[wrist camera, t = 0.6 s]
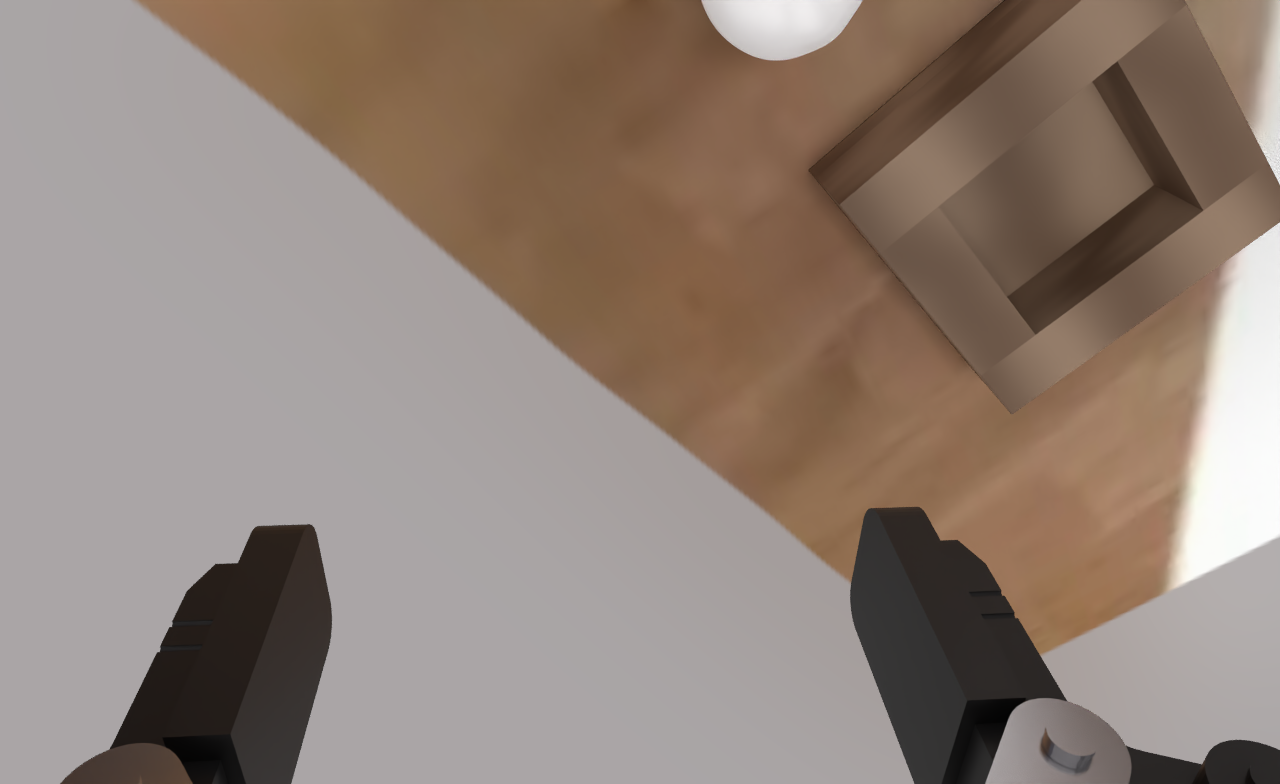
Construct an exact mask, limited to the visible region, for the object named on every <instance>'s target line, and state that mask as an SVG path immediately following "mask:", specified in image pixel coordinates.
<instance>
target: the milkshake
mask: <svg viewBox="0 0 1280 784" xmlns="http://www.w3.org/2000/svg"><path fill="white" fill-rule="evenodd" d="M701 2H702V4H703V7H704V9H705V11H706V13H707V15H708V17H709V19H710V21H711V22H712V24H713V25H714V27H715V28H716V29H717V31H718V32H719V33H720V34H721V35H722V36H723V37H724V38H725V39H726V40H727V41H728V42H730V43H731V44H732V45H734V46H735V47H736V48H738V49H740V50H741V51H743V52H745V53H747V54H749V55H751V56H754V57H757V58H760V59H765V60H788V59H792V58H796V57H799V56H802V55H805V54H808V53H810V52H813V51H815V50H817V49H819V48H821V47H823V46H825V45H827V44H828V43H830V42H831V41H833V40H834V39H835V38H836V37H837V36H838V35H839V34H840V33H841V32H842V31H843V29H844V28H845V27H846V25H847V24H848V22H849V21H850V19H851V18H852V16H853V15H854V13H855V12H856V10H857V9H858V7H859V6H860V4H861V2H862V0H701Z"/></svg>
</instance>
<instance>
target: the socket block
mask: <svg viewBox="0 0 1280 784" xmlns="http://www.w3.org/2000/svg"><path fill="white" fill-rule="evenodd" d="M809 171H810V173H811V174H812V175H813V176H814V178H815V179H816V180H817V181H818V182H819V184H820V185H821V186H822V187H823V188H824V190H825V191H826V192H827V193H828V195H829V196H830V197H831V198H832V199H833V201H834V202H835V203H836V204H837V205H838V207H839V208H840V209H841V210H842V212H843V213H844V214H845V215H846V216H847V218H848V219H849V220H850V221H851V222H852V224H853V225H854V226H855V227H856V228H857V230H858V231H859V232H860V233H861V235H862V236H863V237H864V238H865V239H866V241H867V242H868V243H869V244H870V245H871V247H872V248H873V249H874V250H875V252H876V253H877V254H878V255H879V256H880V258H881V259H882V260H883V261H884V262H885V264H886V265H887V266H888V267H889V269H890V270H891V271H892V272H893V273H894V275H895V276H896V277H897V278H898V279H899V281H900V282H901V283H902V284H903V286H904V287H905V288H906V289H907V290H908V292H909V293H910V294H911V295H912V296H913V298H914V299H915V300H916V301H917V303H918V304H919V305H920V306H921V307H922V309H923V310H924V311H925V312H926V313H927V315H928V316H929V317H930V318H931V320H932V321H933V322H934V323H935V324H936V326H937V327H938V328H939V329H940V330H941V332H942V333H943V334H944V335H945V337H946V338H947V339H948V340H949V341H950V343H951V344H952V345H953V346H954V347H955V349H956V350H957V351H958V352H959V353H960V355H961V356H962V357H963V358H964V360H965V361H966V362H967V363H968V364H969V366H970V367H971V368H972V369H973V370H974V371H975V373H976V374H977V375H978V376H979V377H980V378H981V380H982V381H983V382H984V383H985V384H986V385H987V386H988V388H989V389H990V390H991V391H992V392H993V393H994V395H995V396H996V397H997V398H998V399H999V400H1000V402H1001V403H1002V404H1003V405H1004V406H1005V407H1006V408H1007V410H1008V411H1009V412H1010V413H1011V414H1014V413H1015V412H1016V411H1018V410H1019V409H1021V408H1022V407H1023V406H1025V405H1026V404H1027V403H1029V402H1030V401H1032V400H1033V399H1034V398H1036V397H1037V396H1039V395H1040V394H1041V393H1043V392H1044V391H1046V390H1047V389H1048V388H1050V387H1051V386H1053V385H1054V384H1055V383H1057V382H1058V381H1059V380H1061V379H1062V378H1064V377H1065V376H1066V375H1068V374H1069V373H1071V372H1072V371H1073V370H1075V369H1076V368H1078V367H1079V366H1080V365H1082V364H1083V363H1085V362H1086V361H1087V360H1089V359H1090V358H1092V357H1093V356H1094V355H1096V354H1097V353H1098V352H1100V351H1101V350H1103V349H1104V348H1105V347H1107V346H1108V345H1110V344H1111V343H1112V342H1114V341H1115V340H1117V339H1118V338H1119V337H1121V336H1122V335H1124V334H1125V333H1126V332H1128V331H1129V330H1130V329H1132V328H1133V327H1135V326H1136V325H1137V324H1139V323H1140V322H1142V321H1143V320H1144V319H1146V318H1147V317H1149V316H1150V315H1151V314H1153V313H1154V312H1156V311H1157V310H1158V309H1160V308H1161V307H1162V306H1164V305H1165V304H1167V303H1168V302H1169V301H1171V300H1172V299H1174V298H1175V297H1176V296H1178V295H1179V294H1181V293H1182V292H1183V291H1185V290H1186V289H1188V288H1189V287H1190V286H1192V285H1193V284H1194V283H1196V282H1197V281H1199V280H1200V279H1201V278H1203V277H1204V276H1206V275H1207V274H1208V273H1210V272H1211V271H1213V270H1214V269H1215V268H1217V267H1218V266H1220V265H1221V264H1222V263H1224V262H1225V261H1226V260H1228V259H1229V258H1231V257H1232V256H1233V255H1235V254H1236V253H1238V252H1239V251H1240V250H1242V249H1243V248H1245V247H1246V246H1247V245H1249V244H1250V243H1252V242H1253V241H1254V240H1256V239H1257V238H1258V237H1260V236H1261V235H1263V234H1264V233H1265V232H1267V231H1268V230H1270V229H1271V228H1272V227H1274V226H1275V225H1277V224H1278V223H1279V222H1280V185H1279V183H1278V181H1277V179H1276V177H1275V175H1274V173H1273V171H1272V169H1271V167H1270V165H1269V163H1268V161H1267V159H1266V157H1265V155H1264V154H1263V152H1262V150H1261V148H1260V146H1259V144H1258V142H1257V140H1256V138H1255V136H1254V134H1253V132H1252V130H1251V128H1250V126H1249V124H1248V122H1247V120H1246V119H1245V117H1244V115H1243V113H1242V111H1241V109H1240V107H1239V105H1238V103H1237V101H1236V99H1235V97H1234V95H1233V93H1232V91H1231V89H1230V87H1229V86H1228V84H1227V82H1226V80H1225V78H1224V76H1223V74H1222V72H1221V70H1220V68H1219V66H1218V64H1217V62H1216V60H1215V58H1214V56H1213V54H1212V52H1211V51H1210V49H1209V47H1208V45H1207V43H1206V41H1205V39H1204V37H1203V35H1202V33H1201V31H1200V29H1199V27H1198V25H1197V23H1196V21H1195V19H1194V18H1193V16H1192V14H1191V12H1190V10H1189V8H1188V6H1187V4H1186V2H1185V0H1005V1H1003V2H1002V3H1001V4H1000V5H999V6H998V7H996V8H995V9H994V10H993V11H992V12H991V13H990V14H988V15H987V16H986V17H985V18H984V19H983V20H981V21H980V22H979V23H978V24H977V25H976V26H975V27H973V28H972V29H971V30H970V31H969V32H968V33H966V34H965V35H964V36H963V37H962V38H961V39H960V40H958V41H957V42H956V43H955V44H954V45H953V46H951V47H950V48H949V49H948V50H947V51H946V52H945V53H943V54H942V55H941V56H940V57H939V58H938V59H936V60H935V61H934V62H933V63H932V64H931V65H930V66H928V67H927V68H926V69H925V70H924V71H923V72H921V73H920V74H919V75H918V76H917V77H916V78H915V79H913V80H912V81H911V82H910V83H909V84H908V85H906V86H905V87H904V88H903V89H902V90H901V91H900V92H898V93H897V94H896V95H895V96H894V97H893V98H891V99H890V100H889V101H888V102H887V103H886V104H885V105H883V106H882V107H881V108H880V109H879V110H878V111H876V112H875V113H874V114H873V115H872V116H871V117H869V118H868V119H867V120H866V121H865V122H864V123H863V124H861V125H860V126H859V127H858V128H857V129H856V130H854V131H853V132H852V133H851V134H850V135H849V136H848V137H846V138H845V139H844V140H843V141H842V142H841V143H839V144H838V145H837V146H836V147H835V148H834V149H833V150H831V151H830V152H829V153H828V154H827V155H826V156H824V157H823V158H822V159H821V160H820V161H819V162H818V163H816V164H815V165H814V166H813V167H812V168H811V169H809Z"/></svg>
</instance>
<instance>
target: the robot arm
mask: <svg viewBox="0 0 1280 784" xmlns="http://www.w3.org/2000/svg"><path fill="white" fill-rule="evenodd" d="M850 602H851V611H852V618H853V622H854V626H855V629H856V631H857V634H858V636H859V639H860V642H861V645H862V647H863V650H864V652H865V655H866V657H867V660H868V663H869V665H870V668H871V671H872V673H873V676H874V679H875V681H876V684H877V686H878V689H879V692H880V694H881V697H882V700H883V702H884V705H885V707H886V710H887V712H888V715H889V718H890V721H891V723H892V726H893V728H894V731H895V734H896V736H897V739H898V742H899V744H900V747H901V749H902V752H903V755H904V757H905V760H906V763H907V765H908V768H909V770H910V773H911V776H912V778H913V781H914V784H1280V750H1278V749H1276V748H1273V747H1271V746H1268V745H1264V744H1261V743H1258V742H1253V741H1247V740H1230V741H1226V742H1222V743H1219V744H1218V745H1216V746H1214V747H1213V748H1212V749H1211V750H1210V751H1209V753H1208V755H1207V756H1206V758H1205V760H1204V762H1203V764H1202V765H1201V764H1198V763H1193V762H1189V761H1184V760H1180V759H1175V758H1171V757H1166V756H1162V755H1157V754H1153V753H1148V752H1144V751H1140V750H1136V749H1133V748H1130V747H1128V746H1125V744H1124V742H1123V740H1122V739H1121V738H1120V736H1119V735H1118V734H1117V733H1116V731H1115V730H1114V729H1113V728H1112V727H1111V726H1110V725H1109V724H1108V723H1106V722H1105V721H1104V720H1102V719H1101V718H1100V717H1099V716H1097V715H1096V714H1094V713H1092V712H1091V711H1089V710H1087V709H1085V708H1083V707H1081V706H1079V705H1076V704H1073V703H1071V702H1068V701H1067V700H1066V698H1065V697H1064V695H1063V693H1062V692H1061V690H1060V688H1059V687H1058V685H1057V683H1056V682H1055V680H1054V678H1053V677H1052V675H1051V673H1050V671H1049V670H1048V668H1047V666H1046V665H1045V663H1044V661H1043V660H1042V658H1041V656H1040V655H1039V653H1038V651H1037V650H1036V648H1035V646H1034V645H1033V643H1032V641H1031V639H1030V638H1029V636H1028V634H1027V633H1026V631H1025V629H1024V628H1023V626H1022V624H1021V623H1020V621H1019V619H1018V618H1015V616H1014V611H1013V609H1012V608H1011V606H1010V604H1009V602H1008V601H1007V599H1006V597H1005V596H1002V594H1001V589H1000V587H999V586H998V584H997V582H996V581H995V579H994V577H993V576H992V574H991V572H990V571H989V569H988V567H987V565H986V564H985V563H984V562H983V561H982V560H981V559H979V558H978V557H977V556H976V555H975V554H974V553H972V552H971V551H970V550H969V549H968V548H966V547H965V546H964V545H963V544H962V543H960V542H959V541H958V540H945V541H940V539H939V537H938V535H937V533H936V532H935V530H934V528H933V526H932V524H931V522H930V521H929V519H928V517H927V515H926V514H925V512H924V511H923V510H922V509H921V508H920V507H897V508H870V509H868V510H867V512H866V514H865V516H864V520H863V525H862V530H861V535H860V540H859V546H858V551H857V556H856V561H855V566H854V572H853V577H852V582H851V590H850ZM172 622H173V625H172V627H169V629H168V631H167V633H166V635H165V637H164V639H163V641H162V644H161V646H160V647H161V650H160V652H158V653H157V654H156V656H155V658H154V660H153V662H152V664H151V666H150V668H149V670H148V672H147V674H146V677H145V678H144V680H143V683H142V685H141V687H140V689H139V691H138V693H137V695H136V697H135V699H134V701H133V703H132V705H131V707H130V709H129V711H128V713H127V715H126V717H125V719H124V721H123V724H122V726H121V728H120V730H119V732H118V734H117V736H116V738H115V740H114V742H113V744H112V746H111V747H110V749H109V750H107V751H105V752H103V753H101V754H98V755H96V756H95V757H93V758H91V759H89V760H88V761H86V762H84V763H83V764H82V765H80V766H79V767H77V768H76V769H75V770H74V771H72V772H71V773H70V774H69V775H68V776H67V777H66V778H65V779H64V780H63V781H62V782H61V783H60V784H291V782H292V779H293V775H294V771H295V768H296V764H297V761H298V757H299V753H300V750H301V746H302V743H303V739H304V735H305V731H306V728H307V725H308V721H309V717H310V714H311V710H312V707H313V703H314V699H315V696H316V692H317V689H318V685H319V681H320V678H321V674H322V671H323V666H324V663H325V660H326V656H327V653H328V649H329V645H330V639H331V628H332V613H331V602H330V597H329V592H328V587H327V583H326V578H325V573H324V568H323V563H322V558H321V553H320V548H319V544H318V539H317V535H316V532H315V529H314V527H313V526H312V525H310V524H308V525H278V526H257V527H255V528H254V529H253V531H252V533H251V535H250V537H249V539H248V541H247V544H246V546H245V548H244V551H243V553H242V555H241V557H240V560H239V562H238V563H234V564H233V563H232V564H215V565H214V566H213V567H212V568H211V569H210V570H209V571H208V572H207V573H206V574H205V575H203V577H201V578H200V579H199V580H198V581H197V582H196V583H195V584H194V585H193V586H192V587H191V588H190V589H189V590H188V591H187V592H186V594H185V596H184V599H183V600H182V603H181V605H180V607H179V609H178V611H177V613H176V615H175V617H174V619H173V621H172Z"/></svg>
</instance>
